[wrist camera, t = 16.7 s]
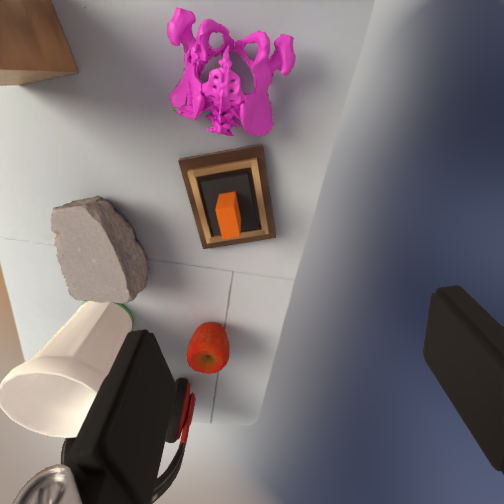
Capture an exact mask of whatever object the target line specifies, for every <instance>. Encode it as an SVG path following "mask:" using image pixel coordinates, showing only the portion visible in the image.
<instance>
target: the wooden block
mask: <svg viewBox="0 0 504 504" xmlns="http://www.w3.org/2000/svg"><path fill="white" fill-rule="evenodd" d="M75 73H79V72H78V69H77V66H76V64H75V61H74V59H73V56H72V53H71V51H70V48H69V46H68V43H67V40H66V38H65V35H64V33H63V30H62V27H61V25H60V22H59V20H58V17H57V14H56V12H55V9H54V7H53V4H52V1H51V0H0V86H6V85H21V84H26V83H31V82H36V81H41V80H46V79H51V78H55V77H60V76H65V75H70V74H75Z"/></svg>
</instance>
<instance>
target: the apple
mask: <svg viewBox="0 0 504 504" xmlns="http://www.w3.org/2000/svg"><path fill="white" fill-rule="evenodd" d="M186 356H187V361H188V364H189V366H190V367H191V368H192V369H193V370H194V371H197V372H201V373H207V374H211V373H216V372H218V371H220V370H221V369H222V368H223V367H224V366H225V365H226V364H227V362H228V360H229V341H228V338H227V334H226V332H225V329H224V328H223V327H222V325H220V324H218V323H212V322H208V323H204V324H202V325H200V326H199V327H198V328H197V329H196V331H195V332H194V334H193V336H192V338H191V340H190V343H189V345H188V350H187V354H186Z"/></svg>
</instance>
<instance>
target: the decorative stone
mask: <svg viewBox="0 0 504 504" xmlns="http://www.w3.org/2000/svg"><path fill="white" fill-rule="evenodd" d="M51 229H52V232H54V233H56V234H57V235H56V238H55V245H56V247H57V258H58V262H59V264H60V266H61V270H62V274H63V275H64V278H65V281H66V285H67V286H68V289H69V294H70V295H71V296H72V297H73V298H75V299H76V300H81V301H87V300H88V301H93V302H98V303H104V302H115V303H121V304H122V303H127V302H130V301H133V300H134V299H135V298H136V296H137V294H138V293H139V292H140V291H142V290H143V289H144V288H145V287H146V284H147V280H148V277H147V272H148V270H149V269H148V265H147V259H146V255H145V253H144V251H143V248H142V246H141V245H140V243H139V242H138V240H137V239H136V235H135V232H134V229H133V228H132V226H131V225H130V223H129V222H128V221H127V220H125V219H124V217H123V216H122V215H121V214H119V213H118V211H117V210H116V209H115V208H114V207H113V206H112V205H111V204H110V203H109V202H108V201H105V200H104V199H103V198H102V197H100V196H96V197H93V198H87V199H83V200H76V201H72V202H71V203H67V204H65V205H63V206H60V207H55V208H53V212H52V218H51Z"/></svg>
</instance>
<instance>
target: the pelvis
mask: <svg viewBox="0 0 504 504" xmlns="http://www.w3.org/2000/svg"><path fill="white" fill-rule="evenodd" d="M195 22H196V18H195V15H194V14H193V12H191V11H188V10H185V9H182V8H176V9H175V13H174V15H173V17H172V19H171V20H170V21H169V22H168V29H167V34H168V37H169V39H170V42H171V44H172V45H174V46H179V45H180V43H182V44H183V46H184V52H185V55H184V61H185V63H186V64H185V65H186V66H185V68H184V70H183V71H184V75H183V77H182V79H181V80H180V81H179V83H178V85H177V86H176V87H175V89H174V91H173V92H172V94H169V100H170V102H171V104H172V106H173V110H175V111H176V112H177V113H178V114H180V115H182V116H184V117H187V118H189V119H192V120H195V119H197V118H198V117H199V115H200V113H201V112H202V110H203V112H205V111H207V110H211V111H212V113H210V115H207V116H206V119H212V125H213V126H215V127H214V128H213V127H212V128H209V129H206V130H208V131H212V132H216V133H218V134H225V135H229V136H234V135H233V134H232V132H230V130H231V128H232V124H234V125H235V126H236V127H238V126H239V124H238V123H237V120H236V118H235V117H234V115H235V116H236V117H237V118H238V119H239V120H241V123H242V126H243V128H244V129H245V132H246V133H248V134H251V135H256V136H263V135H265V134H267V133H268V132H269V131H270V130H271V129H272V128H273V119H272V109H271V102H270V101H269V97H268V93H267V90H268V87H269V85H270V84H271V82H272V76H273V75H274V72H275V71H276V70H281V75H282V76H287V75H288V74H289V73H290V72H291V70H292V68H293V67H294V63H295V54H294V51H293V39H294V38H293V37H292V36H289V35H284V34H281V35H280V37H278V38H277V39H276V40H275V41H274V46H275V51H274V53H273V55H272V56H271V57H270V58H269V59H268V57H269V53H270V40H269V37H268V36H267V34H266V33H265V32H263V31H257V32H255V33H252V34H250V35H248V36H247V37H245V38H243V39H241V40H236V41H235V48H234V40H233V39H232V38H231V37H230V36H229V35H228V34H229V30H228V29H226V28H225V27H224V26H223V25H222V24H218V23H217V22H215V21H214V20H211V19H207V20H204V21H203V22H202V23H201V24H200V27H199V30H198V33H197V37H196V39H195V38H194V36H193V33H192V24H193V23H195ZM213 32H215V33H217V32H220V33H222V34H223V35H222V36H223V40H224V44H223V45H222V46H221V47H220V48H219V49H218V48H217V49H212V47H211V46H210V45H209V38H210V35H211V33H213ZM248 43H257V44H258V50H257V55H256V58H255V61H254V60H251V59H250V58H248V57H247V55H246V53H245V50H244V47H245V45H246V44H248ZM234 50H235V52H236V53H237V54H238V55H239V56H241V57H242V58H243V59H244V60H245V61H246V63H247V64H248V66H249V68H250V69H251V71H252V74H253V78H254V84H255V86H254V91H253V92H252V93H250V94H244V93H243V92H242V90H241V79H240V77H239V76H238V75H237V74H236V73H235V72H233V71H232V70H231V69H230V67H231V66H232V62H231V61H230V59H229V57H230V55H229V52H233V51H234ZM219 55H220V56H223V58H222V59H221V60H219V64H220V65H221V67H220V68H217V69H214V70H211V71H210V74H209V80H208V81H207V82H206V83H204V84H203V82H201V81H200V75H201V72H202V70H203V69H204V67H205V65H206V64H207V63H208V61H209V60H210V59H211V58H212V57H216V56H219ZM215 75H216V76H217V77H218V78H215ZM234 79H235V82H233V81H231V80H234ZM214 85H216V86H217V88H215V87H213V86H214ZM230 90H234V92H232V91H230ZM186 96H187V97H186ZM186 99H187V105H186V107H183V108H182V106H185V104H186Z"/></svg>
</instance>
